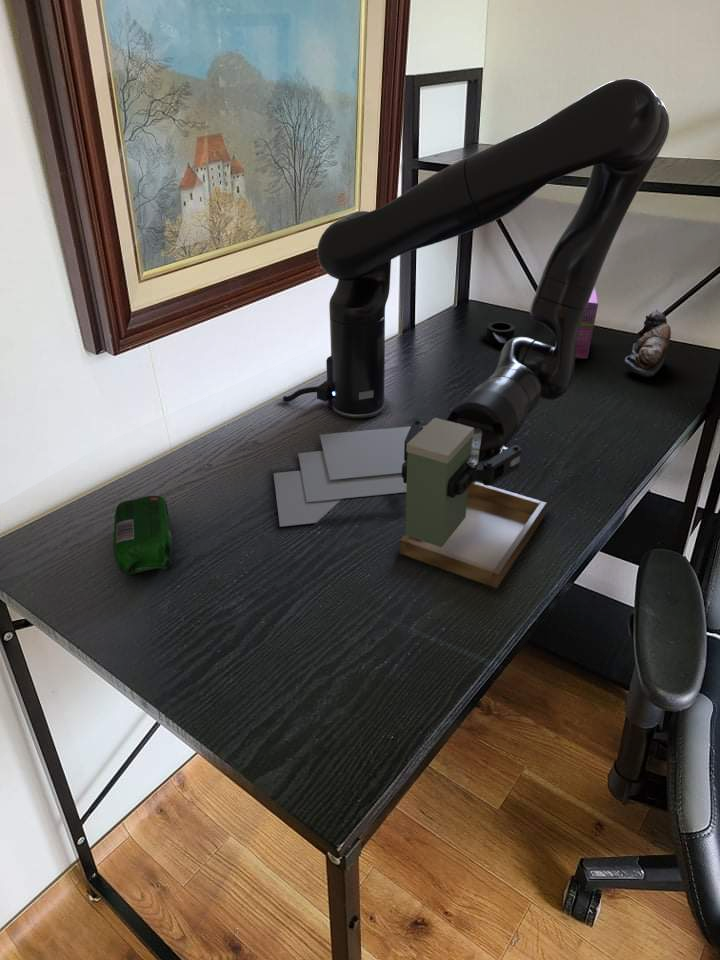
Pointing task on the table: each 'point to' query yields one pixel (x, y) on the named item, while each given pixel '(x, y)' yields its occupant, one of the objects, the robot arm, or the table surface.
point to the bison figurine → (650, 346)
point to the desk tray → (483, 535)
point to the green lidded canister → (435, 480)
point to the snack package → (142, 535)
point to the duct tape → (500, 332)
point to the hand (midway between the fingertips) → (428, 483)
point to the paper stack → (341, 473)
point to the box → (586, 328)
